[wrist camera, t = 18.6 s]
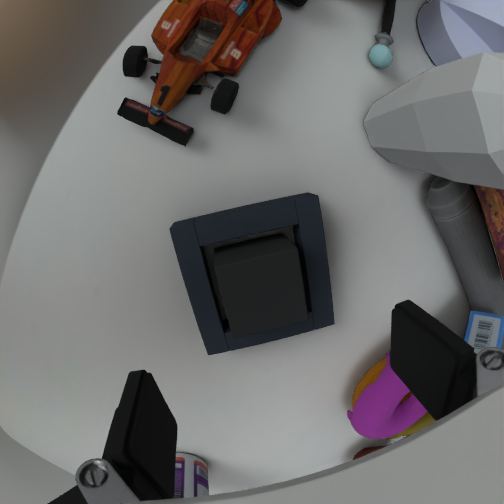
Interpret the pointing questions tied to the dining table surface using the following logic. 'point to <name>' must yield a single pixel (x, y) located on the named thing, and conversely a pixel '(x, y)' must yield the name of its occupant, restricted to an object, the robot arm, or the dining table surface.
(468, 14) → the wedge on round base
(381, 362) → the donut
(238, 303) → the block
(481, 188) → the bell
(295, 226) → the dark blue square frame
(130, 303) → the dining table surface
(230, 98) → the toy car
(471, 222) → the flashlight
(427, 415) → the neti pot
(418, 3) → the dining table surface
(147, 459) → the robot arm
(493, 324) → the label tape box
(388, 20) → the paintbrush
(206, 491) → the pill bottle
